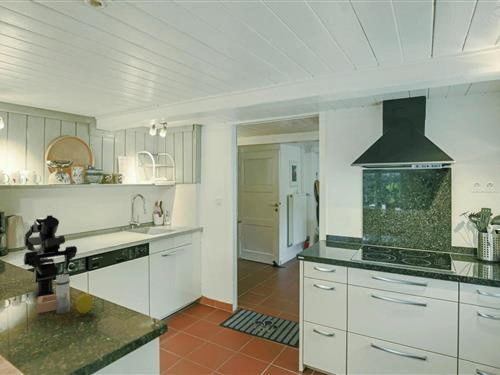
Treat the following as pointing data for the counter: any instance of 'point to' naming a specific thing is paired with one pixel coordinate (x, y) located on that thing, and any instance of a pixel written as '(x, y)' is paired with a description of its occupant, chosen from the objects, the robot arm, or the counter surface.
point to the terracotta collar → (46, 303)
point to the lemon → (84, 303)
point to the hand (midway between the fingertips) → (55, 271)
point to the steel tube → (62, 294)
